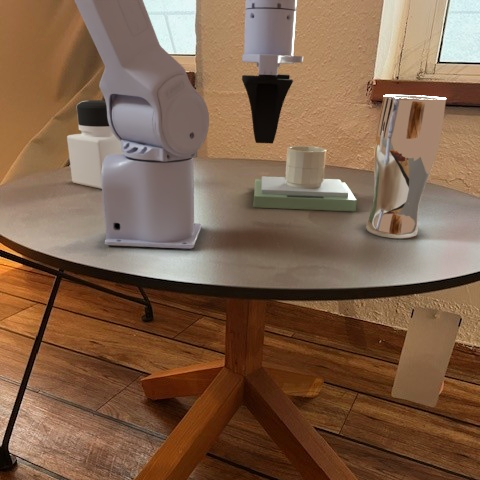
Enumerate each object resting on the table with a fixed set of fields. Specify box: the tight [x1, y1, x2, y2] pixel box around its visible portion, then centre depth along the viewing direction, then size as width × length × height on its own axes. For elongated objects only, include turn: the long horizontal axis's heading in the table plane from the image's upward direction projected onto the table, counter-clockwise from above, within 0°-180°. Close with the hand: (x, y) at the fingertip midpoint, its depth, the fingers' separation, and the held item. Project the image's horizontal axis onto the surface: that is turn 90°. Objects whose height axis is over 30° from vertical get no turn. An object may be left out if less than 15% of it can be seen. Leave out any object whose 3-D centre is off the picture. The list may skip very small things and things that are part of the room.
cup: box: [284, 145, 327, 189], centre depth 72 cm, size 6×6×5 cm
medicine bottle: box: [66, 99, 124, 190], centre depth 77 cm, size 7×7×12 cm
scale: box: [253, 175, 358, 212], centre depth 73 cm, size 14×11×2 cm
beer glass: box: [365, 94, 447, 240], centre depth 58 cm, size 7×7×15 cm
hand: (264, 138), depth 63 cm, fingers open, 7 cm apart
